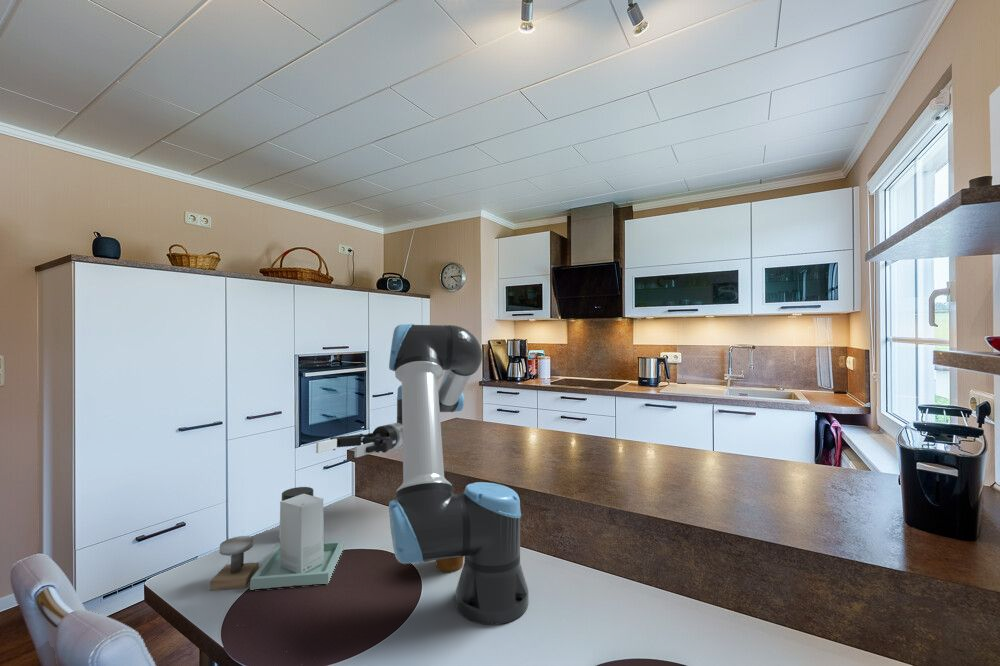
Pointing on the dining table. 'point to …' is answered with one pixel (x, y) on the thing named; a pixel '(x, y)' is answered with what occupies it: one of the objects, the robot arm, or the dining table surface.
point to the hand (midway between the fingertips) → (335, 449)
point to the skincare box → (301, 533)
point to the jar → (296, 493)
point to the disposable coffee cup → (450, 564)
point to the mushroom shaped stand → (235, 565)
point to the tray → (278, 576)
